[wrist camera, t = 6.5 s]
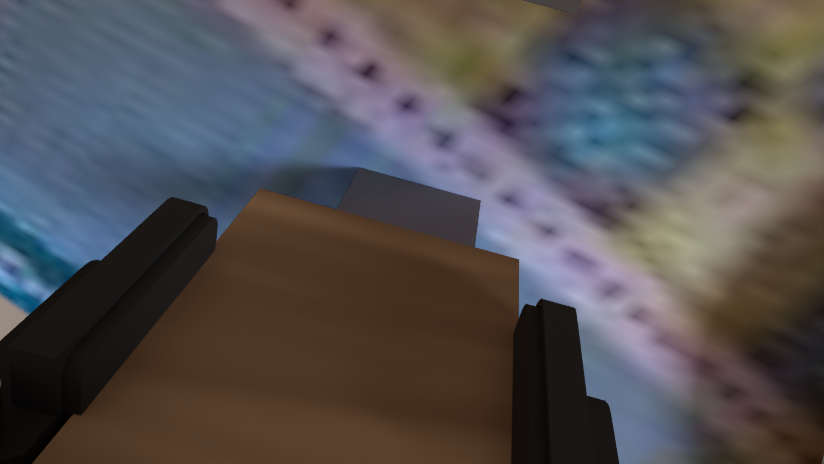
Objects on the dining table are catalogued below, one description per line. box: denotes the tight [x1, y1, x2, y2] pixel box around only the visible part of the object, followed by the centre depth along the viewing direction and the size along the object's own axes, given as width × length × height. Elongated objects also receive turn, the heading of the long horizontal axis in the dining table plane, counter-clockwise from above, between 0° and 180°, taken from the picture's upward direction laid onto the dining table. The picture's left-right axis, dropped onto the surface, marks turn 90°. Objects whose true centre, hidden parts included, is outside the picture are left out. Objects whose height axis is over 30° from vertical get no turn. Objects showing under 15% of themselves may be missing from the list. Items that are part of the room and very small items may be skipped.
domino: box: [337, 168, 481, 247], centre depth 24 cm, size 2×5×10 cm, turn 77°
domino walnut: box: [32, 189, 519, 464], centre depth 9 cm, size 2×5×10 cm, turn 77°
